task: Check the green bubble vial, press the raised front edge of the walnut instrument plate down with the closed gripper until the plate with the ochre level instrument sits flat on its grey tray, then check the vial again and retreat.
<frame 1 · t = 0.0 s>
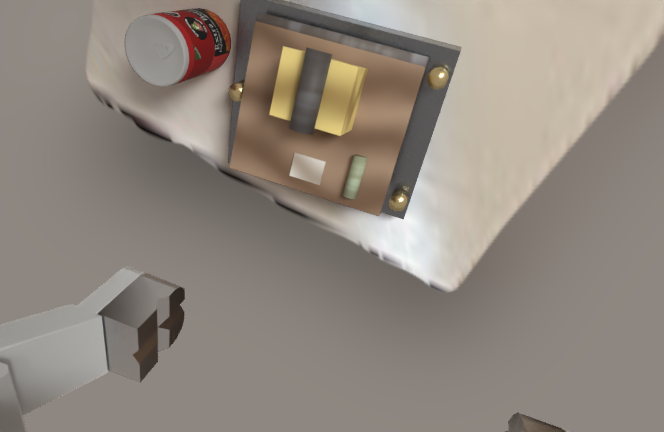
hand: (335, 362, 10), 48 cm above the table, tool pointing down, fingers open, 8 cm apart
level plate: (312, 119, 49), point 10 cm above the table, hinge at 12.0°
grey tray: (334, 108, 58), on the table
canned food: (206, 39, 59), on the table
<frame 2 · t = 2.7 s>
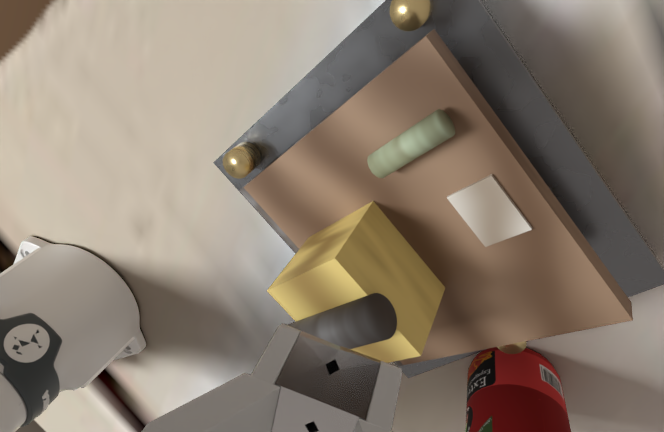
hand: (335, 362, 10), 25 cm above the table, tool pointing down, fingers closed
level plate: (390, 278, 28), point 10 cm above the table, hinge at 12.0°
grey tray: (425, 198, 35), on the table
canned food: (512, 372, 41), on the table
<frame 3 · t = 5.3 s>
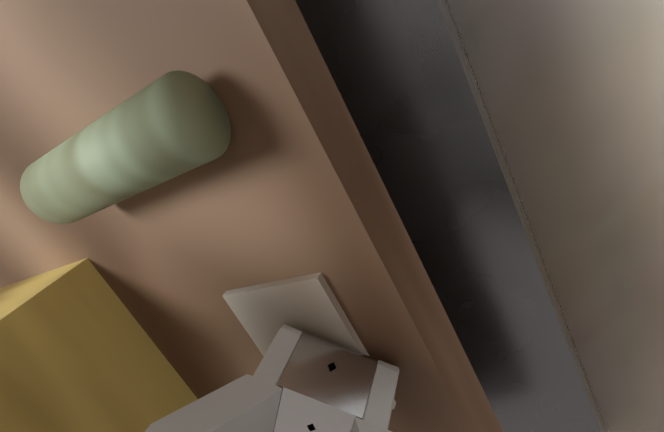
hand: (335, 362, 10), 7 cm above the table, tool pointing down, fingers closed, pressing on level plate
grey tray: (251, 252, 19), on the table
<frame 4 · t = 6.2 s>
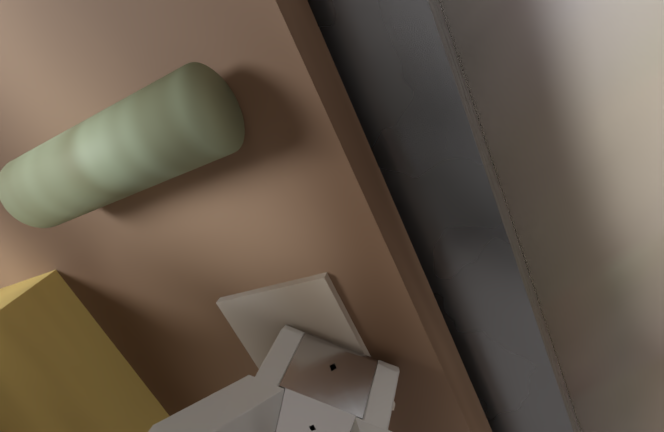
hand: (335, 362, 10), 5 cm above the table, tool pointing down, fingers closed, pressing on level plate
grey tray: (219, 278, 18), on the table
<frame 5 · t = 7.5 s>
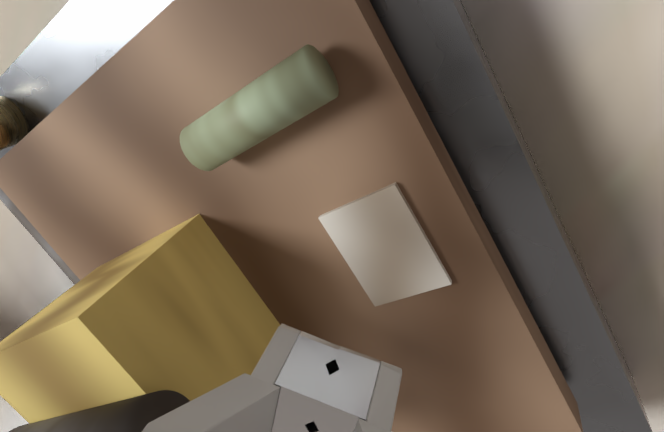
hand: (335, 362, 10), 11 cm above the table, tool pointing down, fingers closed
level plate: (209, 353, 15), point 8 cm above the table, hinge at 0.5°
grey tray: (300, 232, 22), on the table
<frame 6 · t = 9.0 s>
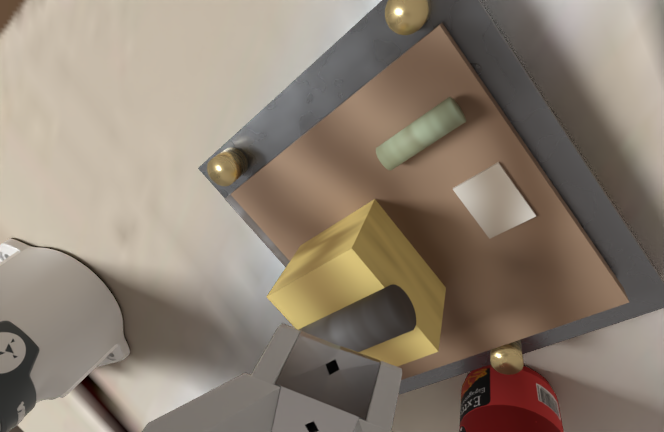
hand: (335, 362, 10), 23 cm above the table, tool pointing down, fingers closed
level plate: (398, 275, 27), point 8 cm above the table, hinge at 0.5°
grey tray: (420, 210, 34), on the table
canned food: (507, 389, 40), on the table
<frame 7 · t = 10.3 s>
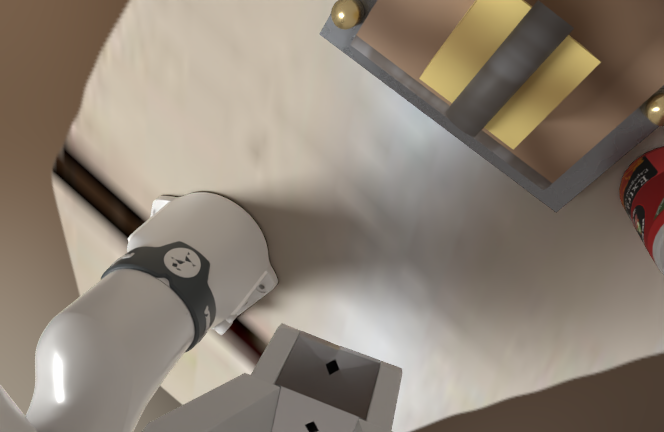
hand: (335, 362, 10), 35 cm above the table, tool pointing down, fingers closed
level plate: (538, 21, 28), point 8 cm above the table, hinge at 0.5°
grey tray: (532, 6, 35), on the table
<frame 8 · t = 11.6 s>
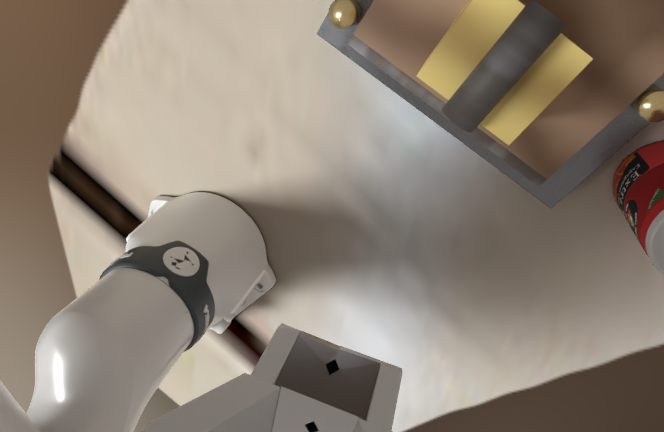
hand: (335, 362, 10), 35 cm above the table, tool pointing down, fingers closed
level plate: (532, 20, 29), point 8 cm above the table, hinge at 0.5°
grey tray: (526, 5, 36), on the table
canned food: (661, 177, 39), on the table
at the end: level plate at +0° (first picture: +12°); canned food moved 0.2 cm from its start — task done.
